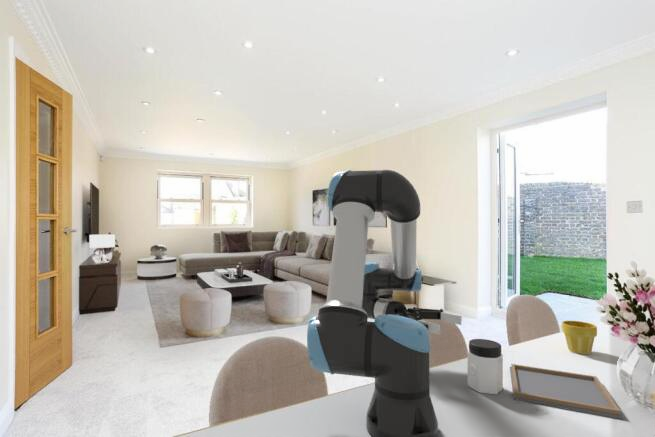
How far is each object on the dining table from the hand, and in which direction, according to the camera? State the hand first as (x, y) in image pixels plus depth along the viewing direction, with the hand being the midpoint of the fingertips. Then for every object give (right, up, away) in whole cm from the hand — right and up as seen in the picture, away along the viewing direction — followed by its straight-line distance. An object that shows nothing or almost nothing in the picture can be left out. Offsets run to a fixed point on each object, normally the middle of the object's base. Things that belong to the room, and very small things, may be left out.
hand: (451, 324), depth 107 cm
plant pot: (+53, -16, +23) cm, 60 cm away
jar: (+7, -15, -8) cm, 18 cm away
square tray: (+26, -15, -9) cm, 31 cm away
